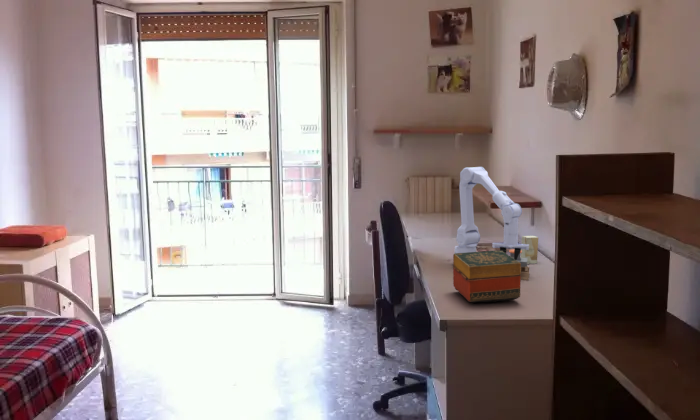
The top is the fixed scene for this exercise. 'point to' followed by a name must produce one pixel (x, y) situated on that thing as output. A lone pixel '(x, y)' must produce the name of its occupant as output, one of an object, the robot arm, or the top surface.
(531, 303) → the top surface
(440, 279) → the top surface
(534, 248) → the skincare box
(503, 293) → the decorative box
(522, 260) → the cabinet
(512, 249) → the button
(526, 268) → the wooden tray
